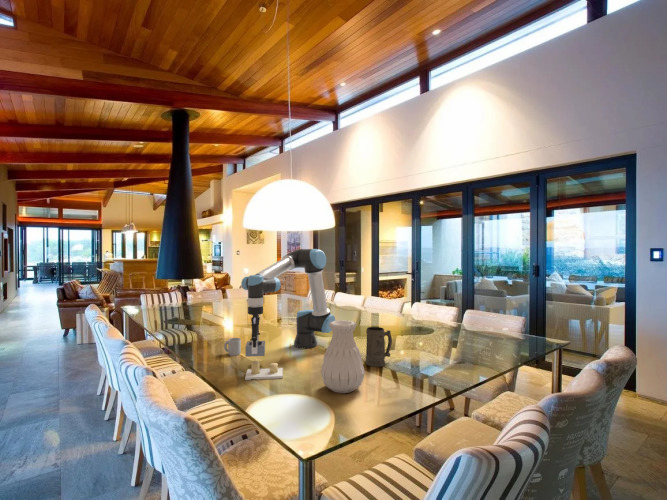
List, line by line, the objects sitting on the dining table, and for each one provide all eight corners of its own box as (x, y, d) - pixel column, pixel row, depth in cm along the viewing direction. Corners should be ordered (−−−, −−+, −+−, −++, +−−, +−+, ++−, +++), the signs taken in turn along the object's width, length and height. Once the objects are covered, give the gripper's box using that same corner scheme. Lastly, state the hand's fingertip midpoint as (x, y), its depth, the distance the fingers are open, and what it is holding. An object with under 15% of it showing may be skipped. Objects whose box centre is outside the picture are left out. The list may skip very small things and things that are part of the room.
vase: (351, 401, 149) (351, 329, 149) (312, 391, 160) (312, 324, 160) (372, 385, 166) (372, 321, 166) (335, 377, 177) (335, 316, 177)
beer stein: (371, 368, 191) (373, 330, 191) (360, 362, 200) (362, 326, 201) (394, 365, 198) (396, 329, 198) (383, 360, 207) (385, 325, 208)
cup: (238, 355, 212) (238, 340, 212) (222, 355, 212) (222, 340, 212) (242, 352, 220) (242, 337, 220) (225, 352, 220) (225, 337, 220)
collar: (265, 350, 185) (265, 340, 185) (264, 355, 176) (264, 345, 176) (247, 350, 183) (247, 341, 183) (245, 356, 175) (245, 346, 174)
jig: (282, 370, 188) (282, 357, 188) (282, 378, 176) (282, 364, 176) (247, 371, 185) (247, 358, 185) (245, 380, 173) (245, 366, 173)
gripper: (249, 302, 190) (249, 345, 190) (245, 309, 168) (245, 357, 168) (264, 302, 191) (263, 344, 191) (261, 309, 169) (261, 356, 169)
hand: (255, 350), depth 180 cm, fingers closed on collar, 9 cm apart
